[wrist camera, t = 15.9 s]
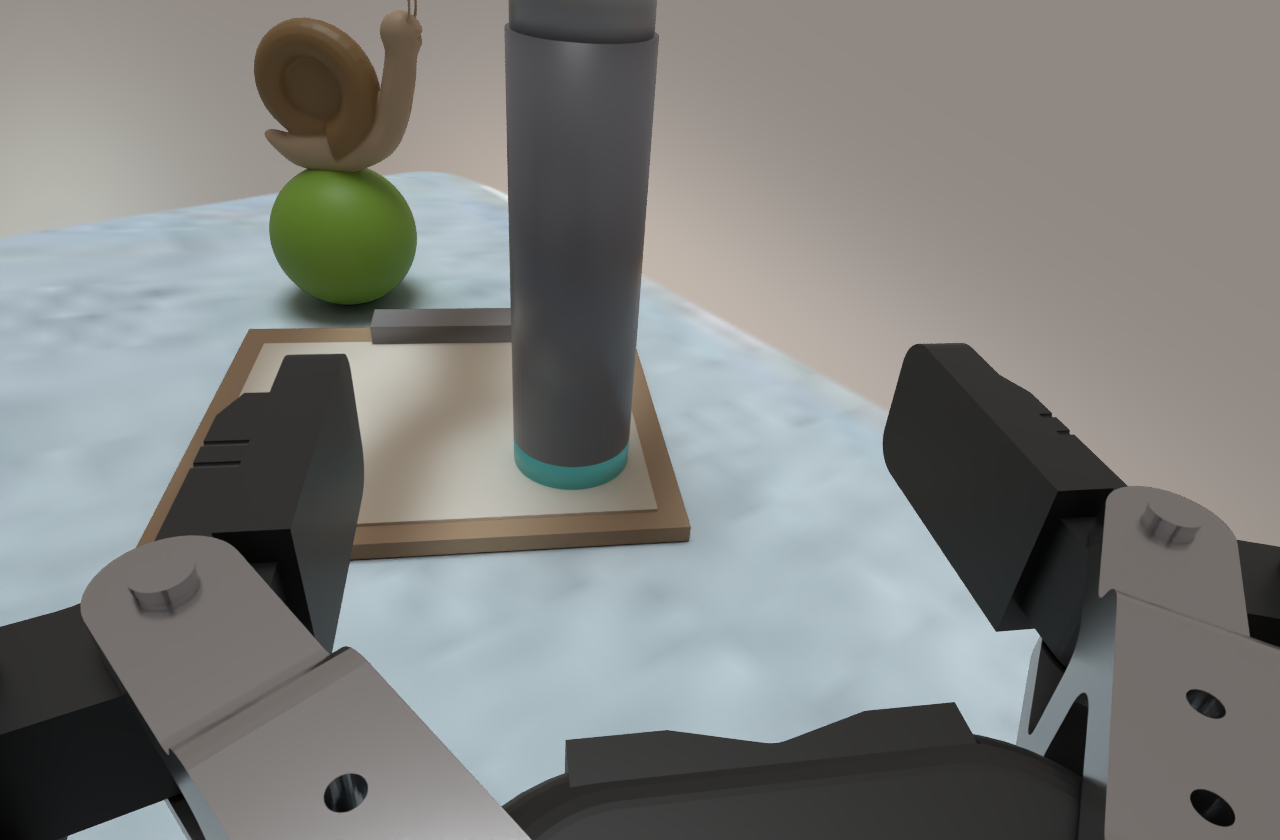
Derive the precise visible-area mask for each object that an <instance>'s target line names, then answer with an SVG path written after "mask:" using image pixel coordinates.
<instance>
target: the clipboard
mask: <svg viewBox="0 0 1280 840" xmlns="http://www.w3.org/2000/svg"><path fill="white" fill-rule="evenodd" d="M297 354H346V356H347V358H348V361H349V364H350V369H351V375H352V381H353V388H354V394H355V401H356V408H357V414H358V421H359V428H360V434H361V441H362V447H363V456H364V488H363V496H362V501H361V506H360V511H359V516H358V522H357V527H356V532H355V537H354V542H353V547H352V552H351V557H350V560H352V559H370V558H388V557H406V556H424V555H442V554H460V553H477V552H495V551H513V550H531V549H549V548H567V547H585V546H602V545H620V544H638V543H656V542H674V541H689V536H690V528H691V526H690V523H689V520H688V517H687V513H686V510H685V507H684V503H683V500H682V497H681V494H680V490H679V487H678V484H677V481H676V477H675V474H674V471H673V467H672V464H671V461H670V458H669V454H668V451H667V448H666V445H665V441H664V438H663V435H662V431H661V428H660V425H659V422H658V418H657V415H656V412H655V409H654V405H653V402H652V399H651V395H650V392H649V389H648V386H647V382H646V379H645V376H644V372H643V369H642V366H641V363H640V359H639V356H638V353H637V350H636V355H635V369H634V382H633V396H632V410H631V423H630V437H629V450H628V461H627V464H626V467H625V468H624V470H623V471H622V472H621V474H619V475H618V476H617V477H616V478H614V479H613V480H611V481H609V482H607V483H605V484H603V485H600V486H597V487H593V488H588V489H579V490H566V489H557V488H552V487H548V486H544V485H542V484H539V483H537V482H535V481H533V480H531V479H529V478H528V477H526V476H525V475H524V474H523V473H522V472H521V471H520V470H519V468H518V467H517V465H516V463H515V459H514V432H513V387H512V342H511V308H474V309H375V310H374V314H373V318H372V322H371V326H370V328H301V329H249V331H248V333H247V335H246V337H245V338H244V340H243V342H242V344H241V346H240V348H239V350H238V352H237V354H236V356H235V358H234V360H233V362H232V364H231V365H230V367H229V369H228V371H227V373H226V375H225V377H224V379H223V381H222V383H221V385H220V387H219V389H218V391H217V392H216V394H215V396H214V398H213V400H212V402H211V404H210V406H209V408H208V410H207V412H206V414H205V416H204V418H203V419H202V421H201V423H200V425H199V427H198V429H197V431H196V433H195V435H194V437H193V439H192V441H191V443H190V445H189V446H188V448H187V450H186V452H185V454H184V456H183V458H182V460H181V462H180V464H179V466H178V468H177V470H176V472H175V474H174V475H173V477H172V479H171V481H170V483H169V485H168V487H167V489H166V491H165V493H164V495H163V497H162V499H161V501H160V502H159V504H158V506H157V508H156V510H155V512H154V514H153V516H152V518H151V520H150V522H149V524H148V526H147V528H146V529H145V531H144V533H143V535H142V537H141V539H140V541H139V543H138V545H137V547H140V546H142V545H145V544H148V543H150V542H154V540H155V538H156V536H157V534H158V532H159V530H160V528H161V526H162V524H163V522H164V520H165V518H166V516H167V514H168V512H169V510H170V508H171V506H172V504H173V502H174V500H175V498H176V496H177V494H178V492H179V490H180V488H181V486H182V484H183V482H184V480H185V478H186V475H187V473H188V471H189V469H190V468H193V461H194V459H195V457H196V455H197V453H198V451H199V449H200V447H201V446H204V442H203V441H204V439H205V437H206V435H207V433H208V431H209V429H210V427H211V425H212V423H213V421H214V419H215V417H216V415H217V414H219V413H220V412H221V411H222V410H223V409H225V408H226V407H227V406H228V405H230V404H231V403H232V402H233V401H235V400H236V399H237V398H238V397H240V396H241V395H242V394H243V393H257V392H270V390H271V387H272V385H273V382H274V380H275V378H276V375H277V373H278V370H279V368H280V366H281V363H282V361H283V359H284V357H285V356H286V355H297ZM137 547H136V548H137Z"/></svg>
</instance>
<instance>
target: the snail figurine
mask: <svg viewBox="0 0 1280 840" xmlns="http://www.w3.org/2000/svg"><path fill="white" fill-rule="evenodd" d="M414 1H415V9H414V15H411V14H410V0H408V12H405V11H400V10H399V11H393V12H391V13H389V14H388V15H386V16H385V18H384V19H383V21H382V23H381V27H380V35H381V39H382V42H383V45H384V49H385V62H384V69H383V76H382V83H381V89H380V85H379V81H378V78H377V75H376V72H375V70H374V67H373V66H372V64H371V62H370V60H369V59H368V57H367V55H366V54H365V52H364V51H363V50H362V49H361V47H360V46H359V45H358V44H357V43H356V42H355V41H354V40H353V39H352V38H351V37H350V36H349V35H347V34H346V33H345V32H343V31H342V30H340V29H338V28H337V27H335V26H334V25H331V24H328V23H326V22H324V21H321V20H315V19H310V18H293V19H290V20H286V21H283V22H281V23H279V24H278V25H276V26H274V27H273V28H272V29H270V30H269V32H268V33H267V34H266V35H265V36H264V37H263V38H262V40H261V42H260V44H259V46H258V48H257V52H256V56H255V61H254V74H255V82H256V86H257V89H258V92H259V95H260V97H261V99H262V101H263V103H264V105H265V107H266V108H267V110H268V111H269V112H270V113H271V115H272V116H273V117H274V118H275V119H276V120H277V121H278V122H279V123H280V124H281V125H282V126H283V127H285V128H286V129H287V130H288V132H284V131H280V130H275V129H269V130H266V131H265V136H266V138H267V140H268V141H269V142H270V143H271V145H273V147H274V148H275V149H276V150H277V151H278V152H280V153H281V154H282V155H283V156H284V157H285V158H287V159H288V160H289V161H291V162H292V163H294V164H296V165H298V166H301V167H304V168H307V169H306V170H304V171H302V172H301V173H299V174H298V175H296V176H295V177H293V178H292V179H291V180H290V181H289V182H288V183H287V184H286V185H285V186H284V187H283V189H282V190H281V191H280V193H279V195H278V196H277V198H276V200H275V203H274V205H273V208H272V211H271V216H270V224H269V232H270V240H271V245H272V249H273V252H274V254H275V257H276V259H277V261H278V263H279V265H280V266H281V268H282V269H283V271H284V272H285V274H286V275H287V276H288V277H289V278H290V279H291V280H292V281H293V282H294V283H295V284H296V285H297V286H298V287H300V288H301V289H302V290H304V291H305V292H307V293H308V294H310V295H312V296H314V297H316V298H319V299H321V300H324V301H327V302H331V303H336V304H346V305H351V304H361V303H366V302H370V301H373V300H375V299H378V298H380V297H382V296H384V295H386V294H387V293H389V292H390V291H391V290H393V289H394V288H395V287H396V286H397V285H398V284H399V283H400V282H401V281H402V280H403V278H404V277H405V276H406V274H407V273H408V271H409V269H410V267H411V265H412V262H413V259H414V256H415V252H416V245H417V233H416V226H415V221H414V218H413V215H412V212H411V210H410V208H409V206H408V204H407V202H406V200H405V199H404V197H403V196H402V195H401V193H400V192H399V191H398V190H397V189H396V187H395V186H394V185H392V184H391V183H390V182H389V181H388V180H387V179H385V178H384V177H383V176H381V175H379V174H378V173H376V172H374V171H372V170H370V169H368V168H367V167H369V166H372V165H374V164H377V163H379V162H381V161H382V160H384V159H386V158H387V157H388V156H390V155H391V154H392V153H393V152H394V150H395V149H396V148H397V147H398V145H399V144H400V142H401V140H402V138H403V135H404V133H405V130H406V128H407V124H408V121H409V118H410V113H411V108H412V102H413V94H414V88H415V81H416V63H417V55H418V52H419V50H420V47H421V45H422V39H421V32H422V27H421V25H420V23H419V21H418V20H417V19H416V14H417V13H416V12H417V1H416V0H414Z"/></svg>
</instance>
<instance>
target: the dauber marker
mask: <svg viewBox="0 0 1280 840" xmlns="http://www.w3.org/2000/svg"><path fill="white" fill-rule="evenodd" d="M656 7H657V0H509V23H507V24H506V25H505V68H506V69H505V71H506V115H507V158H508V159H507V161H508V206H509V252H510V297H511V342H512V387H513V432H514V459H515V463H516V465H517V467H518V468H519V470H520V471H521V472H522V473H523V474H524V475H525V476H526V477H528V478H529V479H531V480H533V481H535V482H537V483H539V484H542V485H544V486H548V487H552V488H557V489H566V490H579V489H588V488H593V487H597V486H600V485H603V484H605V483H607V482H609V481H611V480H613V479H614V478H616V477H617V476H618V475H619V474H621V472H622V471H623V470H624V468H625V467H626V464H627V461H628V450H629V437H630V423H631V410H632V396H633V382H634V369H635V355H636V342H637V328H638V314H639V301H640V287H641V274H642V260H643V245H644V232H645V219H646V205H647V192H648V178H649V165H650V151H651V137H652V123H653V109H654V96H655V83H656V69H657V55H658V42H659V35H658V34H657V33H655V21H656Z"/></svg>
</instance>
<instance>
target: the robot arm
mask: <svg viewBox="0 0 1280 840" xmlns="http://www.w3.org/2000/svg"><path fill="white" fill-rule="evenodd" d="M1069 431H1070V430H1069V429H1068V428H1067V427H1066V426H1065V425H1064V424H1063V423H1062V422H1060V420H1058V419H1057V418H1056V417H1053V418H1052V413H1051V412H1050V411H1049V410H1048V409H1047V408H1046V407H1045V406H1044V405H1043V404H1042V403H1041V402H1040V401H1039V400H1038V399H1037V398H1035V397H1034V396H1033V395H1032V394H1031V393H1030V392H1028V391H1027V390H1025V389H1023V388H1022V387H1020V386H1018V385H1016V384H1015V383H1013V382H1011V381H1009V380H1007V379H1006V378H1004V377H1002V376H1000V375H999V374H998V373H997V372H996V371H995V370H994V369H993V368H992V367H991V366H990V365H989V364H988V363H987V362H986V361H985V360H984V359H983V358H982V357H981V356H980V355H979V354H978V353H977V352H976V351H974V349H973V348H971V347H970V346H969V345H967V344H964V343H946V344H916V345H914V346H912V347H911V348H910V349H909V350H908V352H907V353H906V356H905V358H904V361H903V364H902V368H901V372H900V375H899V379H898V382H897V386H896V390H895V393H894V397H893V401H892V404H891V408H890V411H889V415H888V419H887V422H886V426H885V430H884V435H883V453H884V459H885V463H886V466H887V468H888V470H889V472H890V474H891V475H892V477H893V478H894V480H895V481H896V483H897V484H898V486H899V487H900V489H901V490H902V492H903V493H904V495H905V496H906V498H907V499H908V501H909V502H910V504H911V505H912V507H913V508H914V510H915V511H916V513H917V514H918V516H919V517H920V519H921V520H922V522H923V523H924V525H925V526H926V528H927V529H928V531H929V532H930V534H931V535H932V537H933V538H934V540H935V541H936V543H937V544H938V546H939V547H940V549H941V550H942V552H943V553H944V555H945V556H946V558H947V559H948V561H949V562H950V564H951V565H952V567H953V568H954V569H955V571H956V572H957V574H958V575H959V577H960V578H961V580H962V581H963V583H964V584H965V586H966V587H967V589H968V590H969V592H970V593H971V595H972V596H973V598H974V599H975V601H976V602H977V604H978V605H979V607H980V608H981V610H982V611H983V613H984V614H985V616H986V617H987V619H988V620H989V622H990V623H991V625H992V626H993V628H994V629H995V631H996V632H998V631H1010V630H1022V629H1034V628H1035V629H1036V631H1037V632H1038V633H1039V635H1040V637H1039V639H1038V641H1037V643H1036V645H1035V647H1034V649H1033V652H1032V655H1031V659H1030V665H1029V670H1028V676H1027V682H1026V688H1025V694H1024V700H1023V706H1022V712H1021V718H1020V724H1019V730H1018V736H1017V742H1016V745H1013V744H1010V743H1008V742H1005V741H1001V740H996V739H992V738H988V737H984V736H980V735H975V734H972V732H971V730H970V729H969V727H968V725H967V723H966V722H965V720H964V718H963V716H962V714H961V713H960V711H959V709H958V707H957V706H956V704H955V702H952V703H942V704H932V705H921V706H911V707H901V708H890V709H880V710H870V711H864V712H861V713H858V714H856V715H853V716H850V717H848V718H845V719H842V720H840V721H837V722H835V723H832V724H829V725H827V726H824V727H821V728H819V729H816V730H813V731H811V732H808V733H805V734H803V735H800V736H798V737H795V738H792V739H790V740H787V741H784V742H780V743H760V742H752V741H745V740H737V739H730V738H722V737H715V736H707V735H699V734H692V733H684V732H677V731H669V730H665V731H654V732H644V733H634V734H623V735H613V736H603V737H593V738H582V739H572V740H566V750H565V773H564V774H562V775H559V776H557V777H554V778H551V779H549V780H546V781H544V782H542V783H540V784H538V785H536V786H535V787H533V788H531V789H529V790H527V791H525V792H523V793H521V794H519V795H518V796H516V797H515V798H513V799H512V800H510V801H509V802H507V803H506V804H504V805H503V806H500V805H499V804H498V803H497V802H496V800H495V799H494V798H493V797H492V796H491V795H490V794H489V793H488V792H487V791H486V790H485V788H484V787H483V786H482V785H481V784H480V783H479V782H478V781H477V780H476V779H475V778H474V776H473V775H472V774H471V773H470V772H469V771H468V770H467V769H466V768H465V767H464V766H463V765H462V763H461V762H460V761H459V760H458V759H457V758H456V757H455V756H454V755H453V754H452V753H451V751H450V750H449V749H448V748H447V747H446V746H445V745H444V744H443V743H442V742H441V741H440V739H439V738H438V737H437V736H436V735H435V734H434V733H433V732H432V731H431V730H430V729H429V727H428V726H427V725H426V724H425V723H424V722H423V721H422V720H421V719H420V718H419V717H418V716H417V714H416V713H415V712H414V711H413V710H412V709H411V708H410V707H409V706H408V705H407V704H406V702H405V701H404V700H403V699H402V698H401V697H400V696H399V695H398V694H397V693H396V692H395V690H394V689H393V688H392V687H391V686H390V685H389V684H388V683H387V682H386V681H385V680H384V678H383V677H382V676H381V675H380V674H379V673H378V672H377V671H376V670H375V669H374V668H373V666H372V665H371V664H370V663H369V662H368V661H367V660H366V659H365V658H364V657H363V656H362V655H361V654H360V653H358V652H357V651H356V650H354V649H352V648H351V647H347V646H346V647H342V648H341V649H339V650H337V651H335V652H334V653H332V649H333V644H334V639H335V634H336V629H337V624H338V619H339V613H340V608H341V603H342V598H343V593H344V588H345V583H346V578H347V573H348V567H349V562H350V557H351V552H352V547H353V542H354V537H355V532H356V527H357V522H358V516H359V511H360V506H361V501H362V496H363V488H364V456H363V447H362V441H361V434H360V428H359V421H358V414H357V408H356V401H355V394H354V388H353V381H352V375H351V369H350V364H349V361H348V358H347V356H346V354H297V355H286V356H285V357H284V359H283V361H282V363H281V366H280V368H279V370H278V373H277V375H276V378H275V380H274V382H273V385H272V387H271V390H270V392H257V393H243V394H242V395H241V396H240V397H238V398H237V399H236V400H235V401H233V402H232V403H231V404H230V405H228V406H227V407H226V408H225V409H223V410H222V411H221V412H220V413H219V414H217V415H216V417H215V419H214V421H213V423H212V425H211V427H210V429H209V431H208V433H207V435H206V437H205V439H204V441H203V442H204V446H201V447H200V449H199V451H198V453H197V455H196V457H195V459H194V461H193V468H190V469H189V471H188V473H187V475H186V478H185V480H184V482H183V484H182V486H181V488H180V490H179V492H178V494H177V496H176V498H175V500H174V502H173V504H172V506H171V508H170V510H169V512H168V514H167V516H166V518H165V520H164V522H163V524H162V526H161V528H160V530H159V532H158V534H157V536H156V538H155V540H154V542H150V543H148V544H145V545H142V546H140V547H137V548H135V549H133V550H131V551H129V552H127V553H125V554H123V555H122V556H120V557H118V558H117V559H115V560H113V561H112V562H111V563H109V564H108V565H107V566H105V567H104V568H103V569H102V570H101V571H100V572H99V573H98V574H97V575H96V576H95V577H94V578H93V579H92V581H91V582H90V583H89V585H88V586H87V588H86V590H85V592H84V594H83V596H82V600H81V603H80V604H77V605H75V606H72V607H69V608H66V609H63V610H60V611H57V612H53V613H50V614H46V615H42V616H39V617H35V618H31V619H28V620H24V621H20V622H16V623H13V624H9V625H5V626H2V627H0V840H67V837H68V836H69V835H71V834H74V833H77V832H79V831H82V830H85V829H87V828H90V827H93V826H95V825H98V824H101V823H103V822H106V821H109V820H112V819H114V818H117V817H120V816H122V815H125V814H128V813H130V812H133V811H136V810H138V809H141V808H144V807H146V806H149V805H152V804H154V803H157V802H160V801H162V800H164V801H165V802H166V804H167V806H168V808H169V809H170V811H171V813H172V814H173V816H174V818H175V819H176V821H177V823H178V825H179V826H180V828H181V830H182V831H183V833H184V835H185V836H186V838H187V840H1280V547H1277V546H1271V545H1265V544H1259V543H1252V542H1247V541H1240V540H1236V537H1235V536H1234V534H1233V532H1232V531H1231V530H1230V528H1229V527H1228V526H1227V525H1226V524H1225V523H1224V522H1223V521H1222V520H1221V519H1220V518H1219V517H1218V516H1216V515H1215V514H1214V513H1212V512H1211V511H1209V510H1208V509H1206V508H1205V507H1203V506H1201V505H1200V504H1198V503H1196V502H1194V501H1192V500H1189V499H1187V498H1185V497H1183V496H1180V495H1178V494H1175V493H1172V492H1169V491H1165V490H1161V489H1157V488H1152V487H1144V486H1127V485H1126V484H1125V483H1124V482H1123V481H1122V480H1121V479H1120V478H1119V477H1118V476H1117V475H1116V474H1115V473H1114V472H1113V471H1111V470H1110V469H1109V468H1108V467H1107V466H1106V465H1105V464H1104V463H1103V462H1102V461H1101V460H1100V459H1099V458H1098V457H1097V456H1096V455H1095V454H1094V453H1093V452H1092V451H1091V450H1090V449H1089V448H1087V446H1086V445H1084V444H1083V443H1082V442H1081V441H1080V440H1079V439H1078V438H1077V437H1076V436H1075V435H1070V433H1069Z"/></svg>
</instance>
